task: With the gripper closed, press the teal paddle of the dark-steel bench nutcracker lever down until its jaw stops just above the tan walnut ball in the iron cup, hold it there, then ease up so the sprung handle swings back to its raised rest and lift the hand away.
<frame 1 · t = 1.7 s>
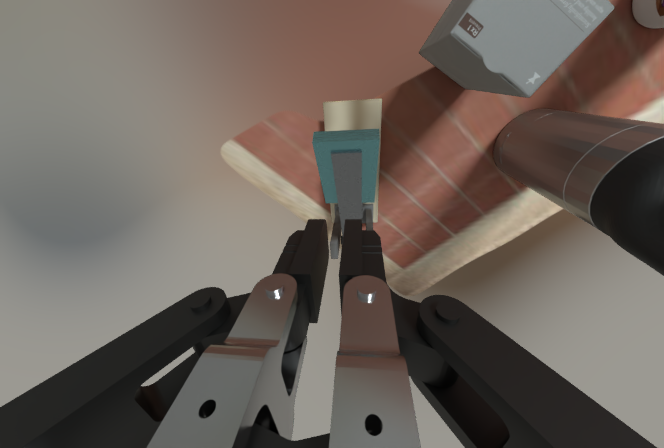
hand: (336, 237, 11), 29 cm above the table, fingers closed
lever: (350, 206, 26), point 14 cm above the table, hinge at 0.0°
cracker base: (353, 166, 38), on the table
skincare box: (455, 48, 30), on the table
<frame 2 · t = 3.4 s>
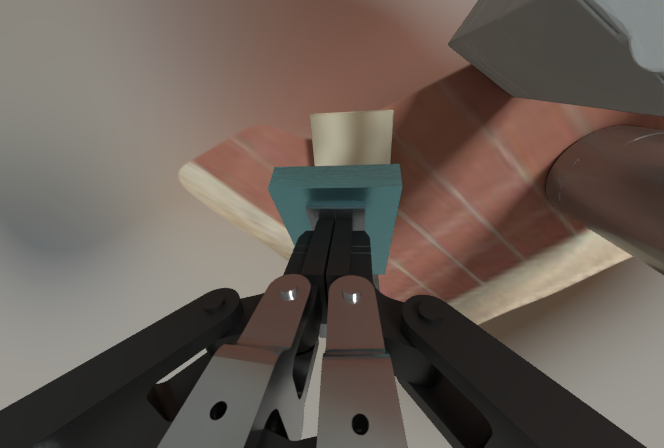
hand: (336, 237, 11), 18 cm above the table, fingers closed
lever: (346, 273, 17), point 14 cm above the table, hinge at 4.2°, touching gripper
cracker base: (352, 198, 29), on the table
skincare box: (503, 38, 20), on the table
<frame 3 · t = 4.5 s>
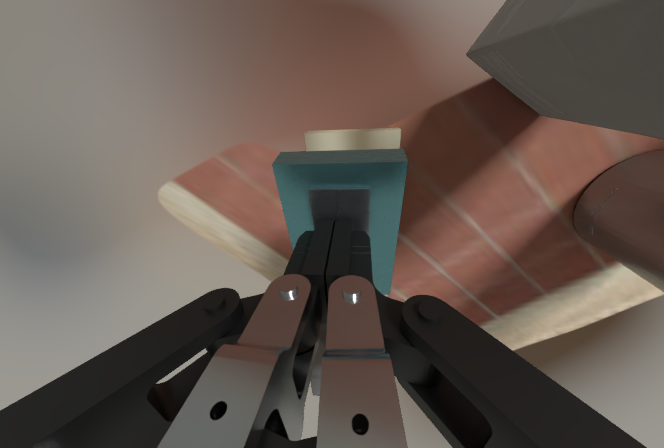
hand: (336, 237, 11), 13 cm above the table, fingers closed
lever: (346, 298, 15), point 11 cm above the table, hinge at 19.7°, touching gripper
cracker base: (353, 223, 26), on the table
skincare box: (531, 48, 17), on the table
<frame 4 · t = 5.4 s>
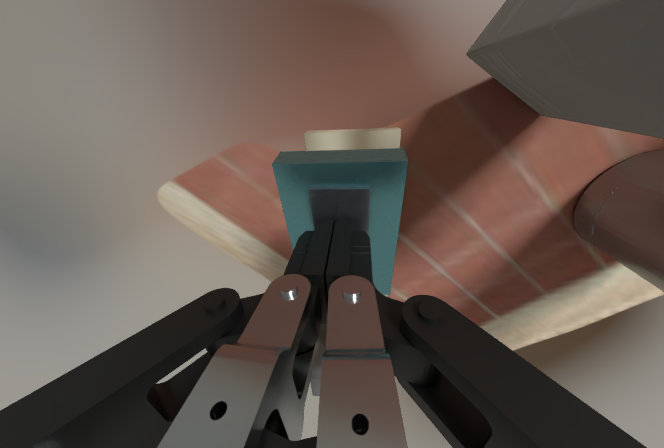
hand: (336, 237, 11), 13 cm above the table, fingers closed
lever: (346, 298, 15), point 11 cm above the table, hinge at 19.8°, touching gripper
cracker base: (353, 223, 26), on the table
skincare box: (531, 47, 17), on the table
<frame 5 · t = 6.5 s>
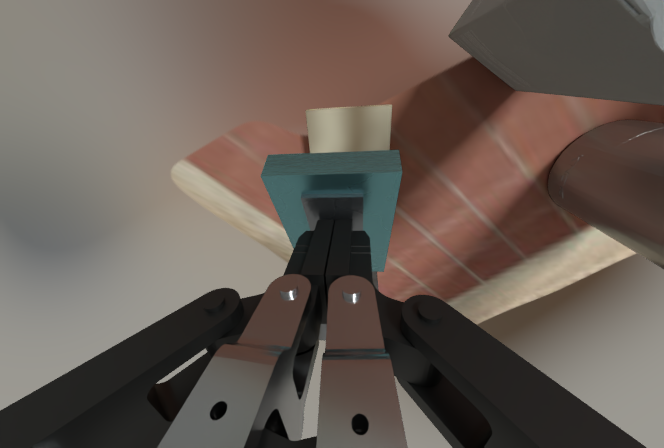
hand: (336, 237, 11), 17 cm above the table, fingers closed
lever: (344, 271, 16), point 13 cm above the table, hinge at 5.8°
cracker base: (350, 196, 28), on the table
skincare box: (505, 29, 19), on the table
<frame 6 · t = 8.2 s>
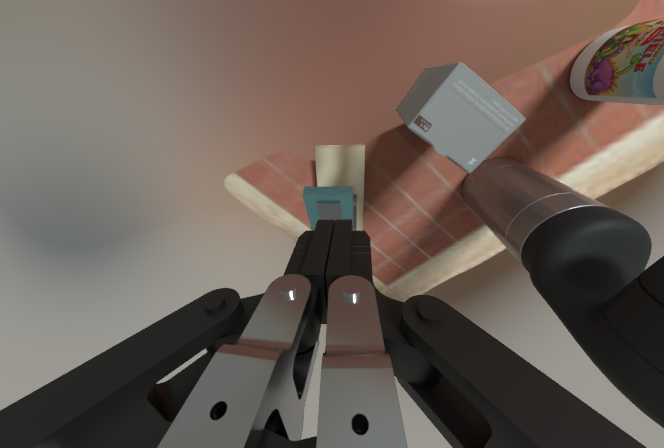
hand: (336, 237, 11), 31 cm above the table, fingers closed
milk bottle: (601, 66, 31), on the table
lever: (334, 239, 32), point 14 cm above the table, hinge at 4.7°
cracker base: (341, 198, 43), on the table
skincare box: (427, 107, 35), on the table
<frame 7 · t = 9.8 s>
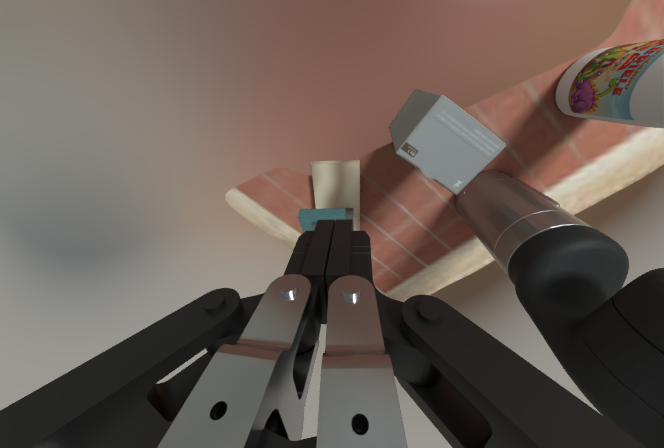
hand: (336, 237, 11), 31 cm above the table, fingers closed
milk bottle: (585, 84, 32), on the table
lever: (331, 254, 33), point 14 cm above the table, hinge at 4.7°
cracker base: (338, 210, 45), on the table
skincare box: (418, 124, 36), on the table
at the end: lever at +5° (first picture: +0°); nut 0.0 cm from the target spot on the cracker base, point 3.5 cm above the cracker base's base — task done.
